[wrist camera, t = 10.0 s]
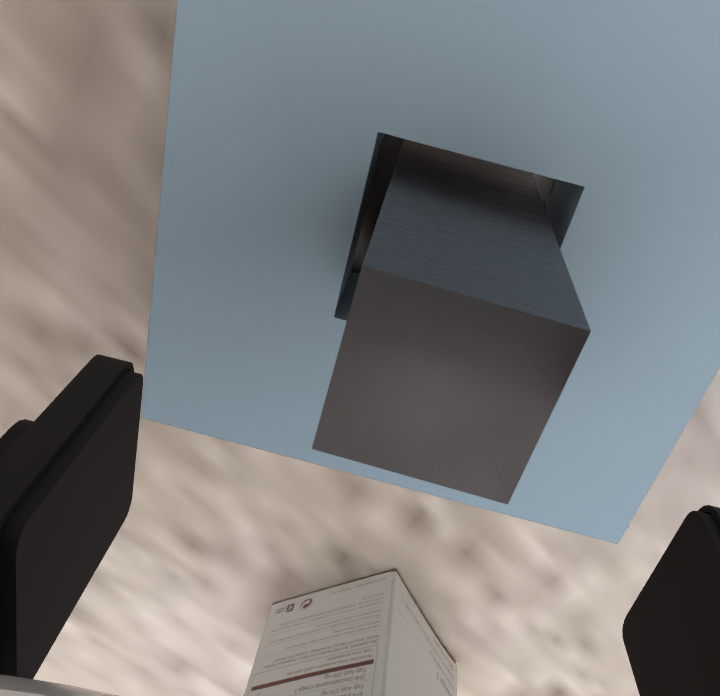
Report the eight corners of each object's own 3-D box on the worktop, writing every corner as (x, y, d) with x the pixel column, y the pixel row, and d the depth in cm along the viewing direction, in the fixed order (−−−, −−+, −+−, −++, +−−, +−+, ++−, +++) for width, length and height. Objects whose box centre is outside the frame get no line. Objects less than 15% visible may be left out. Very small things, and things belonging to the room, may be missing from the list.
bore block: (598, 475, 29) (617, 544, 25) (179, 363, 29) (141, 417, 25) (843, 4, 20) (925, 9, 16) (240, -156, 20) (193, -185, 16)
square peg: (487, 286, 25) (507, 504, 15) (372, 253, 25) (311, 448, 15) (530, 171, 23) (591, 331, 13) (405, 135, 23) (362, 265, 13)
